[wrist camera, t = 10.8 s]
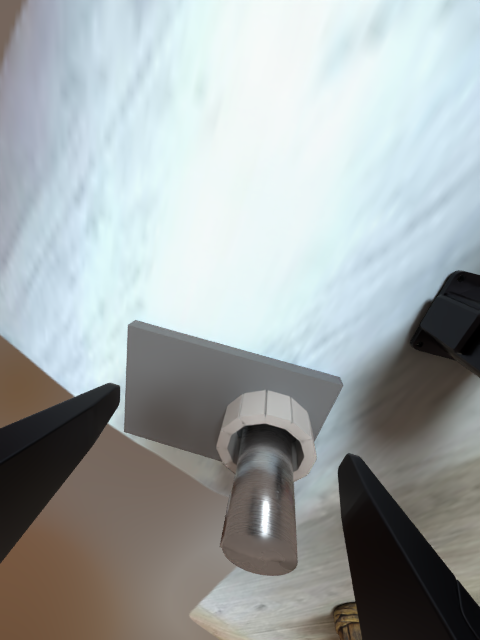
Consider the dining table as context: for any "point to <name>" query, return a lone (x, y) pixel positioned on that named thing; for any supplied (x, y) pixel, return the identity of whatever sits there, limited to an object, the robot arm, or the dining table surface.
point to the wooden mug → (347, 622)
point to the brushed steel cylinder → (262, 504)
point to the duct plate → (220, 396)
